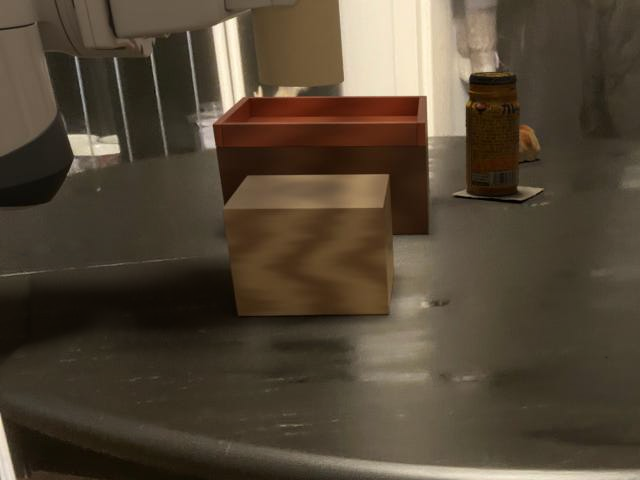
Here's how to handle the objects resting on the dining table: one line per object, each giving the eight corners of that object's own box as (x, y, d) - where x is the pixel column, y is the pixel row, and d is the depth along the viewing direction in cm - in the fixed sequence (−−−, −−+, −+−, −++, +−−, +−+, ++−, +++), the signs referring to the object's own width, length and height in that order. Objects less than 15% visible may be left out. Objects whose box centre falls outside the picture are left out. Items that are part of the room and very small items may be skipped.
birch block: (237, 316, 77) (221, 208, 73) (259, 272, 87) (247, 175, 82) (389, 314, 78) (383, 207, 73) (394, 271, 87) (389, 174, 83)
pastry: (491, 168, 124) (491, 135, 122) (457, 161, 128) (456, 129, 126) (544, 159, 129) (545, 127, 127) (509, 152, 133) (510, 121, 131)
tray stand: (228, 236, 97) (212, 124, 91) (255, 195, 112) (242, 96, 106) (428, 233, 98) (425, 122, 92) (429, 194, 112) (426, 95, 107)
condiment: (478, 184, 117) (477, 68, 110) (544, 190, 114) (548, 72, 107) (452, 196, 111) (449, 76, 104) (520, 203, 109) (523, 80, 101)
